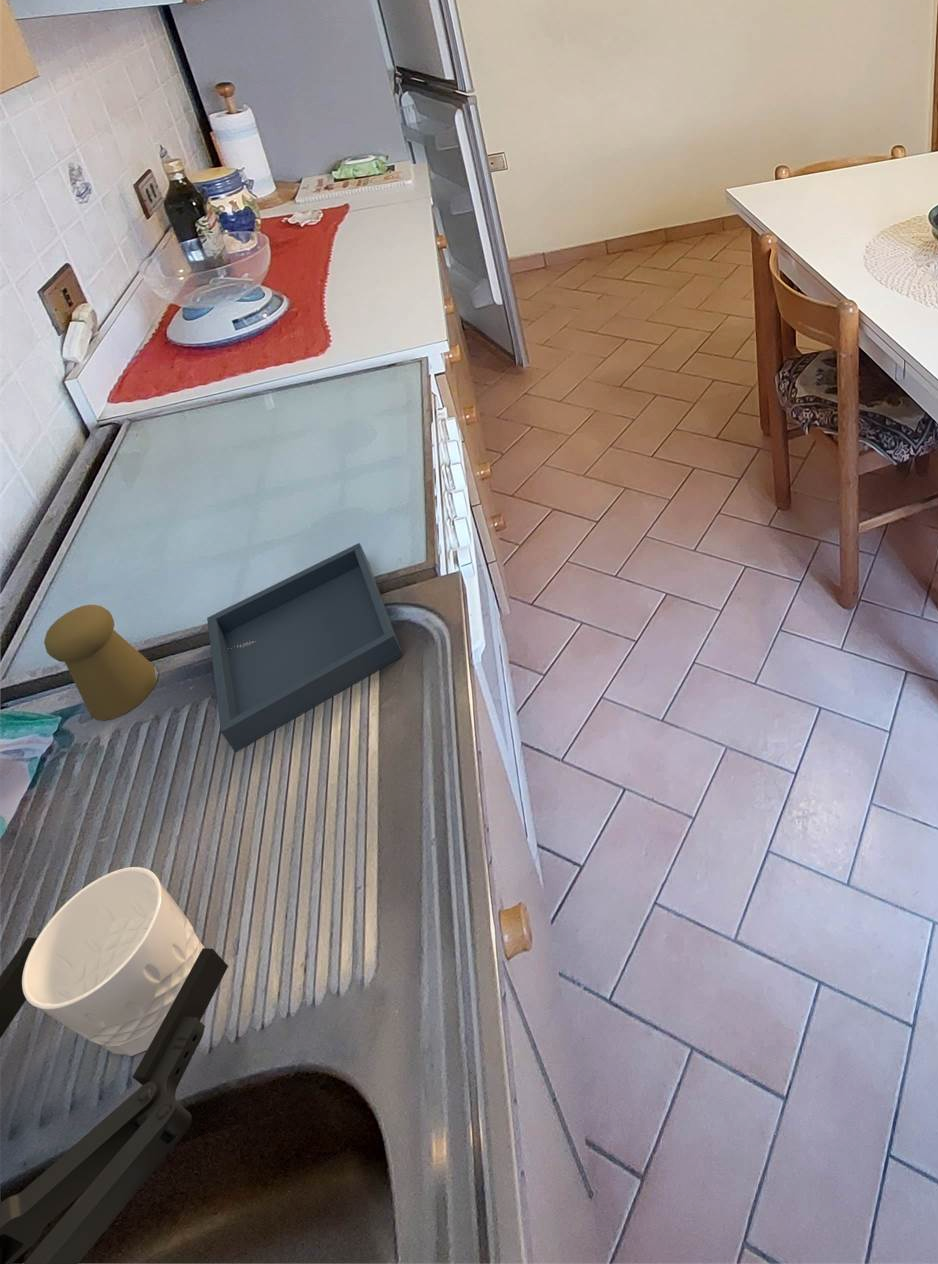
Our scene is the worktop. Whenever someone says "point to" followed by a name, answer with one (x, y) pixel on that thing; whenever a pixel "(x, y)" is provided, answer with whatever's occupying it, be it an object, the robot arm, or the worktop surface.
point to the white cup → (113, 960)
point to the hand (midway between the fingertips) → (128, 950)
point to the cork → (100, 661)
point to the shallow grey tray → (298, 645)
